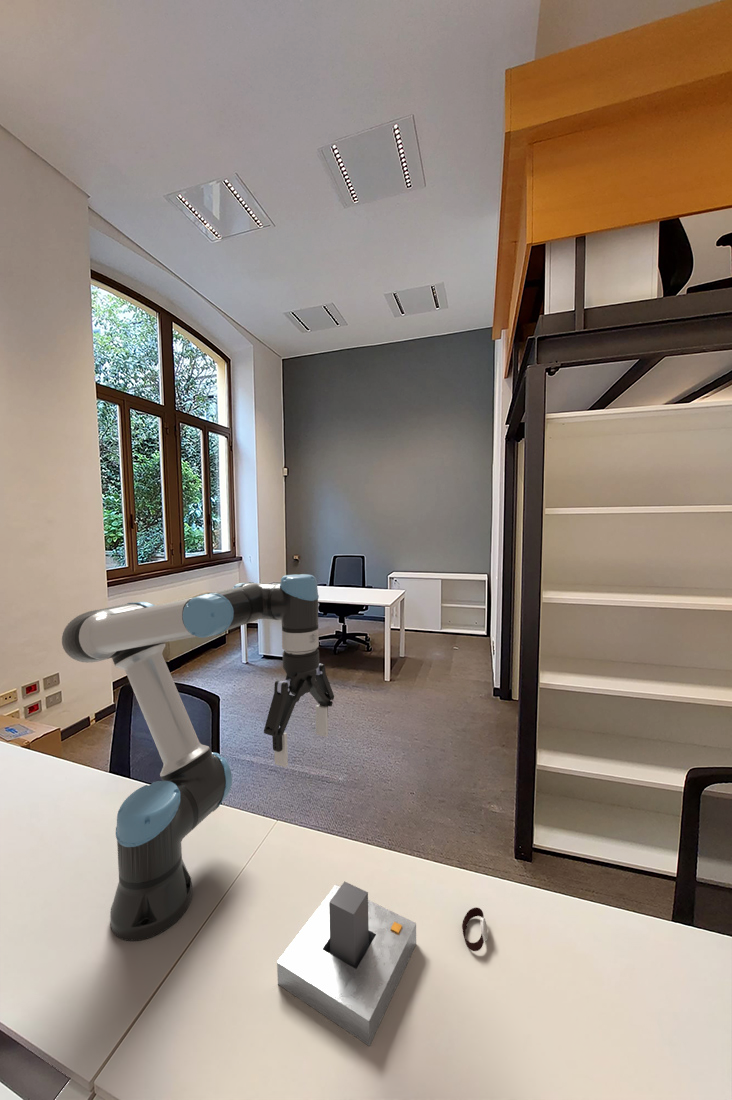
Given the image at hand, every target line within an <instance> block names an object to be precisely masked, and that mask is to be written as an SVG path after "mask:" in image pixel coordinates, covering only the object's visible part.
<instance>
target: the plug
mask: <svg viewBox="0 0 732 1100" xmlns="http://www.w3.org/2000/svg"><path fill="white" fill-rule="evenodd" d="M368 900H369V892H368V891H366V890H364V889H362V888H360V887H358V886H356V885H353V884H351V883H349V882H347V881H344V882H343V883H341V885H340V888H339V890H338V891H337V892H336V894H335V895H334V896H333V898H332V899H331V900H330V902H329V914H330V954H331V955H333V956H335V957H336V958H338V959H340V960H341V961H343V962H345V963H346V964H348V965H350V966H352V967H353V968H355V969H357V967H358V966H359V964H360V962H361V960H362V959H363V957H364V955H365V953H366V951H367V950H368V948H369V924H368Z"/></svg>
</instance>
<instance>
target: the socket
mask: <svg viewBox="0 0 732 1100" xmlns="http://www.w3.org/2000/svg"><path fill="white" fill-rule="evenodd" d="M340 887H341V885H338V884H334V886H333V887H332V888H331V890H330V891H329V893H328V894H327V895H326V896H325V898H324V899H323V901H321V903H320V905H319V906H318V908H316V910H315V911H314V913H313V914H312V915H311V917H309V919H308V921H307V922H306V923H305V924H304V926H303V927H302V928H301V929H300V931H299V933H298V934H296V936H295V938H294V939H293V940H292V941H291V943H290V944H289V945H288V946H287V948H286V949H285V951H284V953H282V955H281V956H280V957H279V959H278V960H277V962H276V969H277V970H276V971H277V972H276V973H277V974H276V975H277V985H278V986H280V987H281V988H282V989H284V990H286V991H288V992H289V993H290V994H292V995H293V996H295V997H296V998H298V1000H300V1001H302V1002H304V1003H305V1004H307V1005H308V1006H309V1007H310V1008H313V1009H314V1010H315V1011H316V1012H318V1013H319V1014H321V1015H322V1016H324V1017H326V1018H327V1019H329V1021H332V1022H333V1023H335V1024H336V1025H337V1026H339V1027H340V1028H342V1029H344V1030H345V1031H346V1032H348V1033H349V1034H351V1035H352V1036H354V1037H355V1038H357V1039H358V1040H359V1041H361V1042H363V1043H364V1044H365V1045H367V1046H369V1047H370V1046H371V1044H372V1041H373V1039H374V1037H375V1035H376V1033H377V1031H378V1029H379V1026H380V1024H381V1022H382V1020H383V1018H384V1015H385V1013H386V1011H387V1008H388V1007H389V1004H390V1002H391V1000H392V998H393V995H394V993H395V992H396V989H397V987H398V985H399V982H400V980H401V978H402V976H403V973H404V972H405V969H406V968H407V965H408V962H409V961H410V959H411V956H412V955H413V952H414V949H415V948H416V946H417V923H416V922H414V921H413V920H410V919H409V918H406V917H405V916H403V915H400V914H398V913H396V912H394V911H393V910H390V909H388V908H386V907H383V906H381V905H379V904H377V903H375V902H373V901H371V900H369V899H368V924H369V948H368V950H367V951H366V953H365V955H364V957H363V959H362V960H361V962H360V964H359V966H358V967H357V969H355V968H353V967H352V966H350V965H348V964H346V963H345V962H343V961H341V960H340V959H338V958H336V957H335V956H333V955H331V954H330V914H329V902H330V900H331V899H332V898H333V896H334V895H335V894H336V892H337V891H338V890H339V888H340Z"/></svg>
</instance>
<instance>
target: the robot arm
mask: <svg viewBox="0 0 732 1100" xmlns="http://www.w3.org/2000/svg"><path fill="white" fill-rule="evenodd" d="M319 598H320V595H319V591H318V581H317V578H316V576H314V575H312V574H307V573H301V574H285V575H283V576H282V577H281V578H280V583H260V582H259V583H258V582H253V581H251V582H240V583H236V584H234V585H233V587H232V588H231V589H227V590H220V591H215V592H208V593H203V594H199V595H197V596H194V597H188V598H184V599H180V600H174V601H170V602H166V603H165V602H164V603H161V604H157V605H155V604H154V603H150V602H148V601H137V602H133V601H132V602H127V603H124V604H120V605H115V606H111V607H105V608H100V609H95V610H94V609H93V610H90V611H87V612H84V613H81V614H79V615H76V616H75V617H74V618H73V619H71V620H70V622H69V621H68V623H67V625H66V626H65V627H64V629H63V631H62V637H61V644H62V645H61V646H62V649H63V651H64V652H65V653H66V655H67V656H68V657H70V658H71V659H73V660H75V661H76V662H80V663H96V662H103V661H104V660H108V659H112V662H113V665H114V667H115V668H118V669H121V670H123V671H125V675H126V676H127V679H128V681H129V683H130V686H131V688H132V691H133V693H134V695H135V699H136V701H137V702H138V705H139V708H140V710H141V712H142V715H143V718H144V720H145V722H146V725H147V727H148V729H149V731H150V735H151V736H152V740H153V741H154V743H155V746H156V749H157V751H158V754H159V756H160V758H161V761H162V763H163V766H162V768H161V771H160V773H159V775H160V779H161V780H159V781H153V782H151V784H149V785H148V784H145V785H143V786H141V787H140V788H138V789H136V790H134V792H132V793H130V795H128V796H127V797H126V798H125V800H123V802H122V803H121V805H120V806H119V809H118V811H117V816H116V827H115V837H116V842H117V843H116V844H117V865H118V883H117V886H116V890H115V894H114V899H113V901H112V904H111V907H110V915H109V917H110V919H109V920H110V928H111V930H112V932H113V934H114V935H115V936H116V937H117V938H119V939H121V940H124V941H142V940H146V939H148V938H149V939H150V938H152V937H154V936H157V935H159V934H161V933H163V932H164V931H166V930H168V929H169V928H170V927H172V926H173V925H174V924H176V923H177V921H179V920H180V919H181V918H182V916H184V914H185V913H186V911H187V910H188V908H189V906H190V904H191V902H192V899H193V882H192V877H191V876H190V873H189V871H188V868H187V867H186V864H185V862H184V860H183V853H182V852H183V850H182V842H183V839H185V837H187V836H188V834H190V832H192V831H193V830H194V829H195V828H197V826H198V825H200V824H201V823H202V822H203V821H204V820H205V819H206V818H207V817H209V815H210V814H211V813H213V812H215V811H216V810H218V808H219V807H220V805H221V804H222V803H223V801H225V800H226V799H227V797H228V796H229V794H230V791H231V789H232V785H233V773H232V769H231V767H230V764H229V762H228V761H227V759H226V758H225V757H222V755H221V754H220V753H218V752H212V750H211V748H210V746H208V745H206V744H202V743H201V742H200V740H199V738H198V736H197V734H196V731H195V729H194V726H193V724H192V722H191V719H190V716H189V714H188V712H187V710H186V707H185V705H184V703H183V701H182V698H181V695H180V693H179V691H178V689H177V686H176V684H175V681H174V678H173V677H172V674H171V672H170V670H169V667H168V664H167V662H166V660H165V658H164V655H163V652H164V650H165V648H166V643H167V642H169V643H170V642H174V641H179V640H185V639H189V638H196V637H197V638H201V639H204V638H208V637H213V636H217V635H221V634H223V633H224V632H227V631H230V630H232V629H235V628H237V627H242V626H244V625H247V624H249V623H252V622H256V621H258V620H275V621H281V647H282V650H283V651H282V668H283V670H284V671H285V674H286V677H285V680H276V681H275V682H274V689H273V690H274V691H273V697H272V699H271V703H270V707H269V711H268V714H267V718H266V721H265V725H264V728H263V729H264V730H263V733H264V734H265V735H268V736H271V737H272V738H271V739H272V749H273V751H274V753H273V755H274V765H277V766H279V767H283V768H287V767H288V765H289V761H288V760H289V757H288V754H289V753H288V733H287V732H285V731H286V728H287V726H288V723H289V722H290V721H289V720H290V718H291V716H292V714H293V711H294V708H295V706H296V704H297V703H298V702H299V701H300V699H301V697H303V696H304V695H306V694H308V693H310V695H311V696H312V698H313V699H314V700H315V701H316V703H318V704H317V705H315V733H316V734H315V735H318V736H320V737H325V738H327V737H328V736H329V707H332V706H333V701H334V700H335V694H334V692H333V689H332V686H331V684H330V682H329V681H330V680H329V678H328V675H327V673H326V664H323V663H320V650H319V649H318V648H319V645H320V644H319V639H320V638H319Z"/></svg>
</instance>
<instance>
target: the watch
mask: <svg viewBox="0 0 732 1100" xmlns="http://www.w3.org/2000/svg"><path fill="white" fill-rule="evenodd" d="M475 917H480V918H479V920H480V933H481V934H480V937H479V939H478V940H477V941H476V942H470V941H469V940H467V938H466V935H467V929H468V923H470V921H471V920H472V919H473V918H475ZM461 928H462V934H463V938H464V943H465V945H466V947H467V948H468V949H469V950H470V951H471V952H472V951H473V952H477V951H480V950H481V949H482V948H483V945H484V943H485V942H486V941H488V938H489V937H488V936H489V935H488V934H489V933H488V926H487V921H486V918H485V915H484V912H483V910H482V909H481V908H480V907H473V908H470V909H469V910H468V911H467V912H466V914H465V916H464V917H463V919H462V924H461Z"/></svg>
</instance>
